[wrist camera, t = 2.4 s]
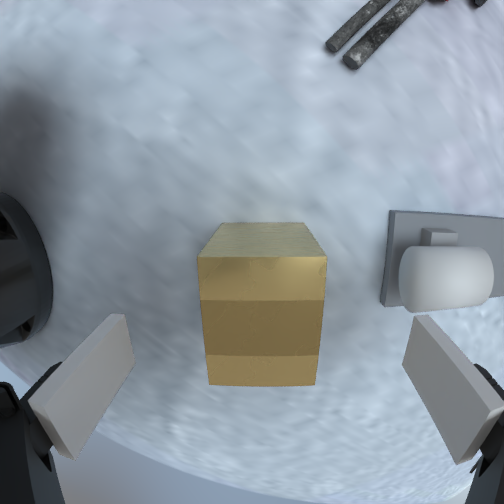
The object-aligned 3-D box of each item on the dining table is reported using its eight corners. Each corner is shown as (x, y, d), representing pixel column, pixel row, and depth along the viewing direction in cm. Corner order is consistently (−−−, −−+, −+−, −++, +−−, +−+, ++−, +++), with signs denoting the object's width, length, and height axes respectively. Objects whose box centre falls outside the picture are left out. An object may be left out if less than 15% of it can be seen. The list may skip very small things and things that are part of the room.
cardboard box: (300, 315, 22) (314, 385, 14) (226, 315, 22) (209, 384, 15) (303, 222, 20) (327, 256, 12) (222, 223, 20) (196, 256, 13)
